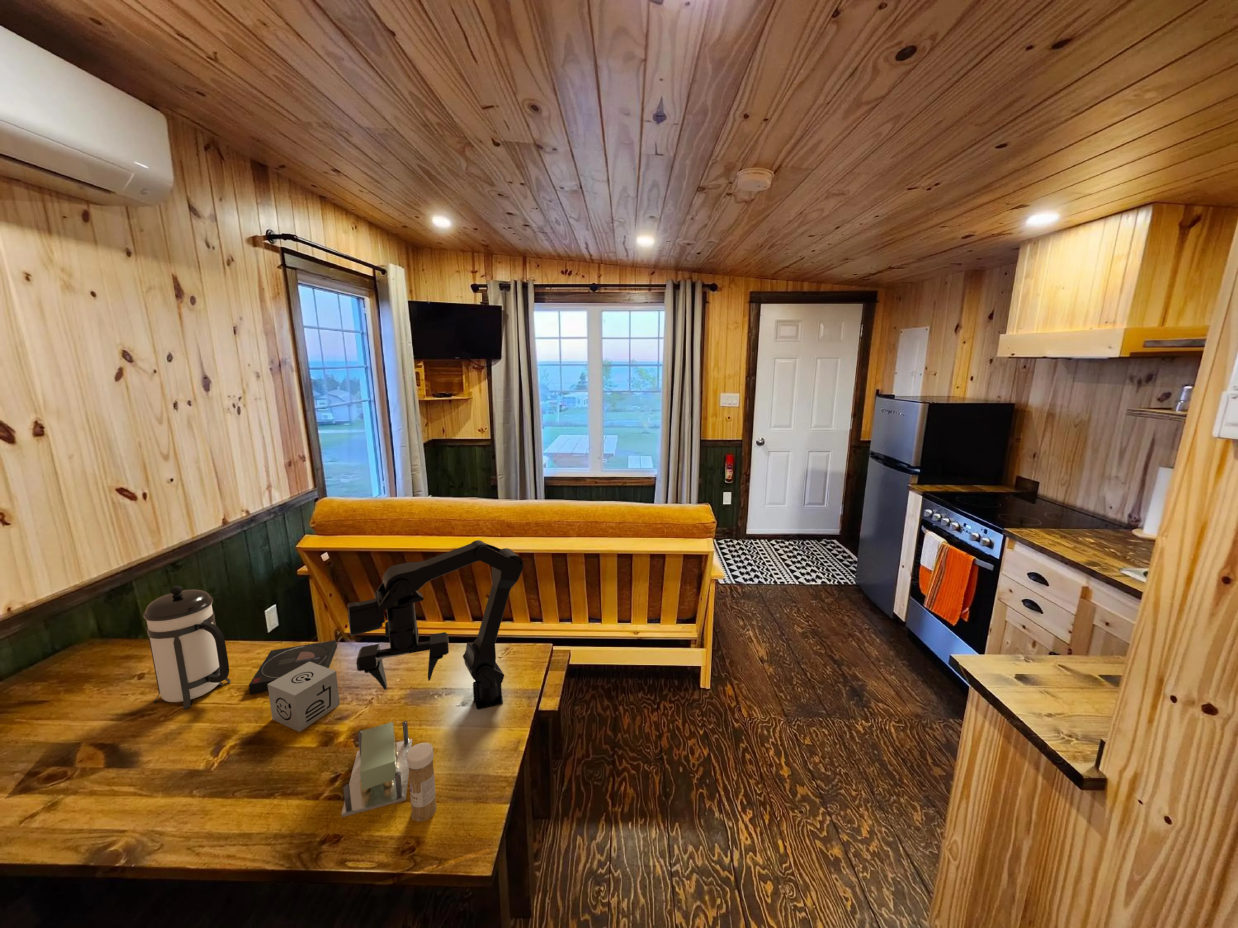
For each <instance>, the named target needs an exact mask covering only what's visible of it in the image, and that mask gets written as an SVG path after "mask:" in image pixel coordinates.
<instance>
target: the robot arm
mask: <svg viewBox="0 0 1238 928" xmlns="http://www.w3.org/2000/svg"><path fill="white" fill-rule="evenodd" d="M523 560H524V559H522V557H520V556H519V555H518V554H517V553H515V552H514V551H513V550H512V549H510V548H507V547H505V548H499V547H497V546H494V545H492V544H488V543H486V542H484V541H482V540H480V539H478V540H473V541H472V542H470V543H468V544H466V545H463V546H460V547H457V548H455V549H452V550H450V551H447V552H444V553H441V554H439V555H437V556H434V557H431V558H428V559H425V560H422V561H410V562H404V563H401V564H399V563H398V564H395V565H391V566H390V567H388V568H387V569H386V570H385V572H384V573H383V575H382V582H381V584H380V585H379V586H378V588H377V589H376V591H375V592H374V598H371V599H368V600H367V599H366V600H361V601H358V602H357V601H354V602H350V603H348V604H347V607H348V610H347V611H348V614H347V619H348V620H347V621H348V627H349V635H350V637H354V636H358V635H361V634H365V633H369V632H372V631H377V630H380V629H381V628H383V627H384V632H385V633H384V635H385V637H388V638H389V646H390V647H388V648H383V649H382V648H381V647H380V644H379V643H377V644H376V643H375V644H371V645H365V646H361V648H360V649H359V650H358V655H357V658H356V671H359V672H361V671H362V672H363V671H364V674H370V675H371V676H372V677H373V678H375V680H376V681H377V682H378V683H379V684H380V687H382V688H383V690H384V691H387V689H388V682H387V677H386V672H385V667H384V662H383V659H388V658H393V657H400V656H406V655H410V654H415V653H419V652H425V651H429V653H428V654H429V656H428V667H427V680H428V682H429V681H431V679H432V675H433V672H434V670H435V667H436V664H438V661H439V660H441V659H443V658H444V656H447V655H448V654H450V653H449V648H450V647H449V646H450V645H449V634H448V633H447V632H445V631H444V632H439V633H433V634H430V635H429V640H427V641H421V642H419V640H420V639H419V638H420V636H419V633H420V632H419V627H418V621H417V617H416V605H415V603H419V602H422V601H424V600H425V599H424V595H422V593H421V592H420V591H419V590H421V588H422V587H424V586H425V585H426V584H427V583H429V582H430V581H432V580H435V579H437V578H439V577H442V576H444V575H447V574H450V573H453V572H454V571H457V570H459V569H461V568H462V569H463V568H464V567H467V566H469V565H471V564H472V565H473V564H474V563H477V562H479V561H480V562H483V563H485V564H487V565H489V566H491V577H492V578H491V579H492V583H491V584H492V585H491V588H490V592H489V595H488V599H487V602H486V605H485V609H484V612H483V616H482V620H481V623H480V627H479V631H478V633H477V637H476V639H474V641H472V642H470V641H469V642H466V645H465V646H466V647H465V651H464V653H463V655H462V658H463V660H464V661H463V663H464V665H465V667H466V669H467V671H468V672H469V674H470V676H471V678H472V679H473V680H475V681H473V683H472V690H473V691H472V693H473V702H474V703H475V708H476V710H480V709H485V708H489V707H493V706H494V707H495V706H498V705H503V704H504V699H503V691H502V690H503V689H502V683H503V681H504V678H505V674H504V672H503V670H502V669H501V667H500V666H499V665H498V663H497V662H496V661H497V654H496V653H497V652H496V651H497V650H496V641H497V638H498V635H499V631H500V627H501V624H502V621H503V617H504V613H505V611H506V607H507V602H508V599H509V595H510V594H511V590H512V588H513V587H514V586H515V585H516V584H517V582H518V581H519V579H520V577H521V575H522V572H523V571H524V568H525V567H524V566H525V562H524V561H523ZM385 611H386V616H387V619H385ZM385 620H387V621H385ZM383 624H384V626H383Z"/></svg>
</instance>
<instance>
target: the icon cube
mask: <svg viewBox="0 0 1238 928" xmlns="http://www.w3.org/2000/svg"><path fill="white" fill-rule="evenodd" d="M337 676H338V675H337V670H334V669H331V668H330V667H329V668H326V667H323V666H321V665H318V664H315V663H312V662H310V661H309V662H307V663H306V664H304V665H302V666H300V667H298V668H296V669H295V670H293V671H291V672H289V673H287V674H285V675H283V676H282V677H280V678H278V679H276V680H274V681H272V682H271V683H269V684H268V692H267V693H268V698H269V705H270V711H271V712H270V713H271V718H272V719H271V720H273V721H275V722H277V723H278V724H281V725H283V726H285V727H288V728H290V729H292V730H294V731H295V732H298V733H301V732H302V731H304V730H306V729H307V728H308V727H309V726H311V725H312V724H313V723H315V722H316V721H318V720H320V719H321V718H323V717H324V716H326V715H327V714H329V713H330V712H332V711H333V710H334V709H336V708H337V707H339V706H340V705H341V703H340V693H339V685H338V677H337Z"/></svg>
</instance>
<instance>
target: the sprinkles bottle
mask: <svg viewBox="0 0 1238 928" xmlns="http://www.w3.org/2000/svg"><path fill="white" fill-rule="evenodd" d="M434 756H435V755H434V747H433V745H432V744H431V743H429V742H421V743H417V744H414V745H412V748H411V749H410V750H409V751H408V753H407V765H408V767H409V776H408V784H409V792H410V793H409V796H410V805H411V806H410V808H411V815H410V816H411V819H412V820H413V821H415V822H419V823H420V822H424V821H427V820H429V819H431V818H432V817H433V816H434V815H435V813H436V811H437V808H438V807H437V806H438V805H437V803H436V802H437V801H436V800H437V799H436V780H435V768H434Z"/></svg>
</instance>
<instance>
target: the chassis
mask: <svg viewBox="0 0 1238 928" xmlns="http://www.w3.org/2000/svg"><path fill="white" fill-rule="evenodd" d="M408 724H409V723H408V721H407V720H404V721H403V722H402V735H403V740H400V741H395V758H396V773H395V779H394V780H391V781H388V782H385V783H382V784H379V785H377V786H374V787H371V788H368V789H365V790H362V785H361V776H360V764H361V740H362V731H363V730H364V729H363V730H362V729H361V730H358V732H357V738H358V747H359V748H358V749H359V750H357V751H356V755H355V759H354V762H353V767H352V771H351V776H350V779H349V783H347V784H344V786H343V787H342V789H343V797H344V802H343V806H342V810H341V818H343V817H348V816H352V815H356V814H359V813H362V812H367V811H370V810H371V811H372V810H373V809H377V808H382V807H386V806H389V805H393V804H398V803H402V802H405V801H406V800H407V793H408V792H407V791H408V786H409V785H408V784H409V767H408V765H407V753H408V751H409V750H410V749H411V748H412V747H413V738H410V739H409V727H408Z"/></svg>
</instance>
